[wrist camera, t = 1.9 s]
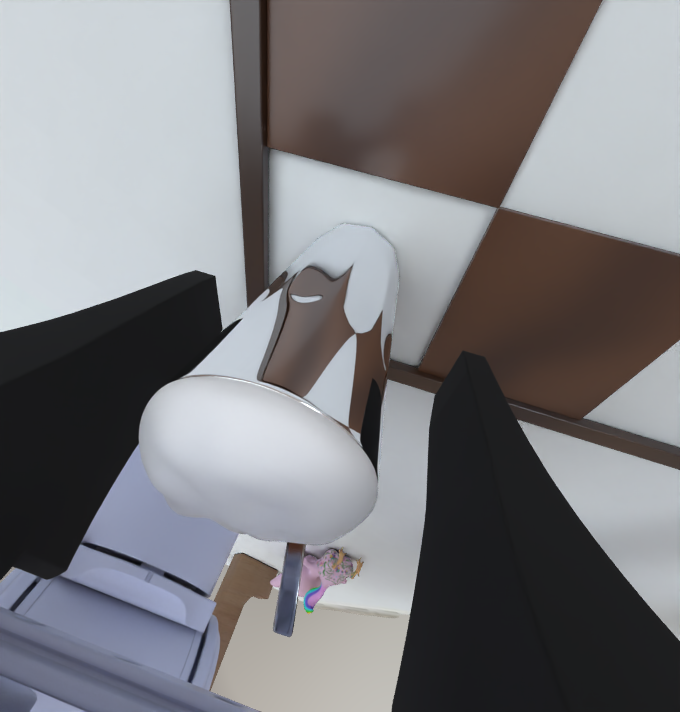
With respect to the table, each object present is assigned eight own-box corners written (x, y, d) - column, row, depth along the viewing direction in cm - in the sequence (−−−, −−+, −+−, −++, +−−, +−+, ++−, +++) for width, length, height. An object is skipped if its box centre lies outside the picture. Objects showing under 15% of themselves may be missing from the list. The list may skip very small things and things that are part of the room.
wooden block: (234, 553, 50) (174, 687, 40) (242, 552, 48) (182, 693, 38) (268, 571, 52) (220, 703, 42) (278, 570, 50) (230, 710, 40)
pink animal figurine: (332, 525, 34) (261, 558, 42) (320, 591, 30) (243, 614, 38) (375, 550, 36) (300, 577, 44) (371, 616, 31) (287, 633, 39)
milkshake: (324, 337, 15) (197, 606, 8) (276, 216, 11) (-23, 493, 4) (428, 330, 13) (390, 670, 6) (408, 186, 10) (266, 564, 3)
